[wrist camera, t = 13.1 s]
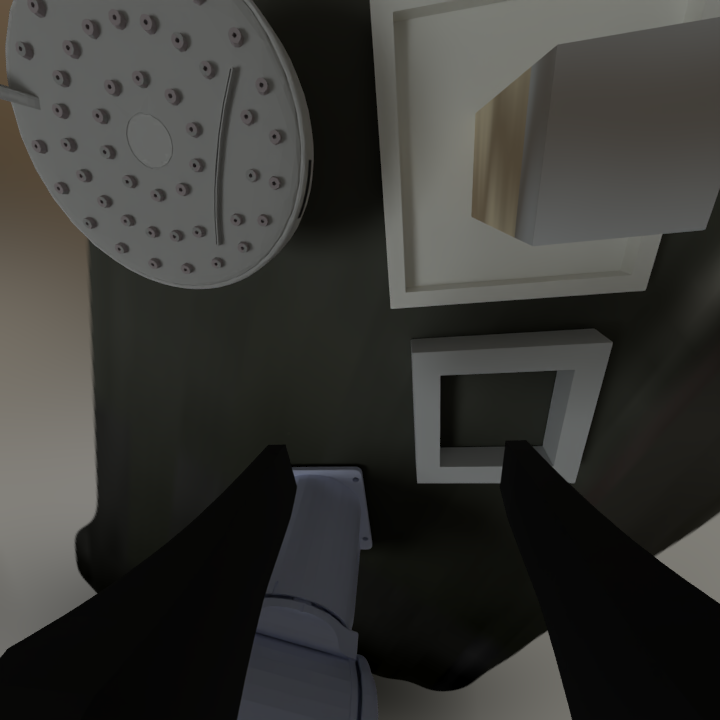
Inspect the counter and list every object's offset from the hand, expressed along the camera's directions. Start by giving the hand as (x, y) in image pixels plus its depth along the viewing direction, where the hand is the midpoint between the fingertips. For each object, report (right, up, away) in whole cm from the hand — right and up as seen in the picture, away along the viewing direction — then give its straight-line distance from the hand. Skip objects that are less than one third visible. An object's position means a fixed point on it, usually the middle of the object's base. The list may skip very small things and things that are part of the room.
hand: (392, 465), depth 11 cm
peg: (+6, +12, +3) cm, 14 cm away
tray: (+6, +12, +4) cm, 14 cm away
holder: (+7, +1, +10) cm, 13 cm away
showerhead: (-7, +13, +5) cm, 16 cm away
